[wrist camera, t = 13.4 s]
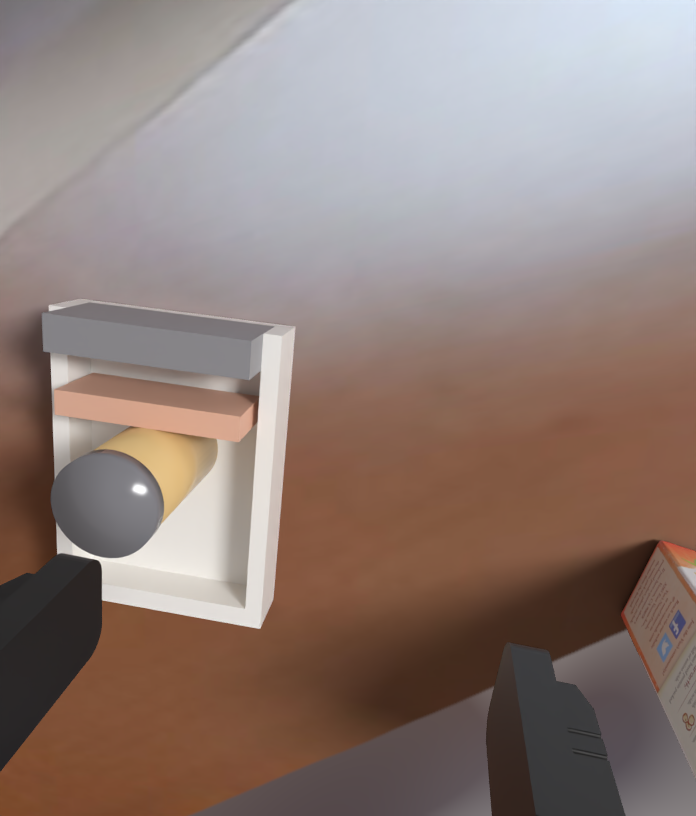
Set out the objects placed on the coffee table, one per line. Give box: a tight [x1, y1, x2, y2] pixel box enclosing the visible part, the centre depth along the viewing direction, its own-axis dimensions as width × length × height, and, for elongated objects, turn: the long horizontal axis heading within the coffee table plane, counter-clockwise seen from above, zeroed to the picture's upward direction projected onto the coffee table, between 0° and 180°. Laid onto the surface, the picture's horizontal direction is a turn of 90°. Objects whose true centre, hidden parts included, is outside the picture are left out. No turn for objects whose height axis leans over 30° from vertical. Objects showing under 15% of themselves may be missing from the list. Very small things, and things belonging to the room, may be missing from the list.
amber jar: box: [51, 426, 218, 558], centre depth 34 cm, size 5×5×9 cm
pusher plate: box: [54, 373, 259, 442], centre depth 35 cm, size 1×10×4 cm, turn 84°
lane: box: [42, 299, 295, 629], centre depth 37 cm, size 18×13×5 cm
